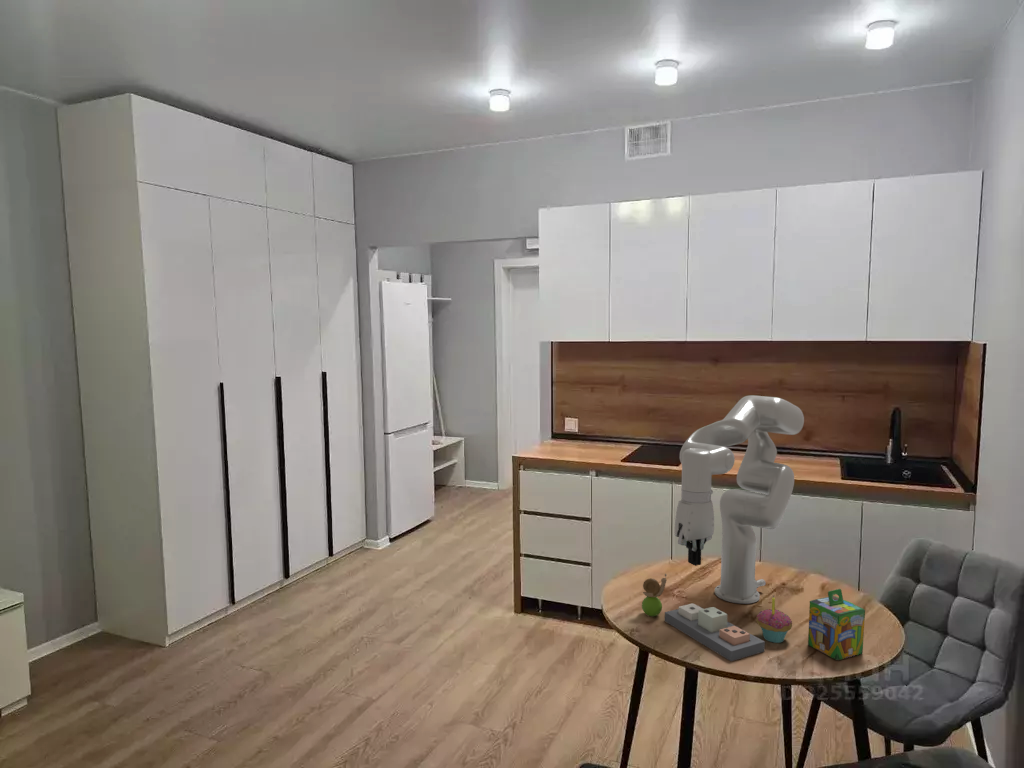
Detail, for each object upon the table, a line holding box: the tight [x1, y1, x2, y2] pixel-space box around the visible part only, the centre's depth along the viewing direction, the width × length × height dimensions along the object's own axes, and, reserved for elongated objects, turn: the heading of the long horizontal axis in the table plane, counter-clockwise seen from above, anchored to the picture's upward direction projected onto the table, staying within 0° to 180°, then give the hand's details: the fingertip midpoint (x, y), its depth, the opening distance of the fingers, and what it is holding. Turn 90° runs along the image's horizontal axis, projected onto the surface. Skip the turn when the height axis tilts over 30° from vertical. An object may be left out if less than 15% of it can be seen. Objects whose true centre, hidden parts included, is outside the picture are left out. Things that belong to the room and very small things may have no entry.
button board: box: [664, 604, 766, 662], centre depth 171 cm, size 24×11×2 cm, turn 27°
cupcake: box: [755, 595, 793, 644], centre depth 169 cm, size 9×8×12 cm
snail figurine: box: [641, 573, 667, 617], centre depth 182 cm, size 5×6×12 cm
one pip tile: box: [678, 603, 704, 621], centre depth 177 cm, size 5×5×4 cm
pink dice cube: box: [719, 625, 751, 646], centre depth 164 cm, size 5×5×4 cm
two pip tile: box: [698, 606, 728, 633], centre depth 171 cm, size 5×5×4 cm
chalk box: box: [807, 588, 866, 661], centre depth 164 cm, size 9×9×15 cm
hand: (694, 563), depth 176 cm, fingers closed
